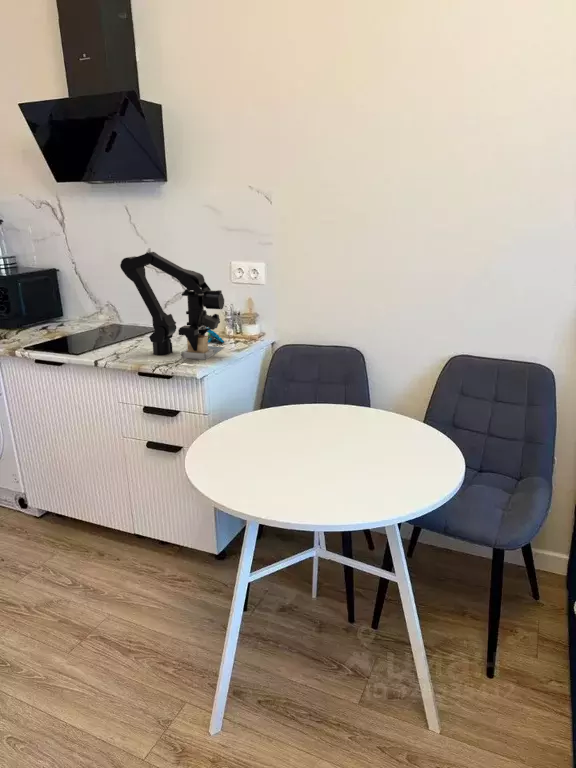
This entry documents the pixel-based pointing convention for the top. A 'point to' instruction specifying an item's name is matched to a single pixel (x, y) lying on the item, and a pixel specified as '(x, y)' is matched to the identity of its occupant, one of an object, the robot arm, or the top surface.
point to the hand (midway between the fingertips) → (197, 349)
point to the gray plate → (201, 356)
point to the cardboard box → (199, 345)
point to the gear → (213, 336)
